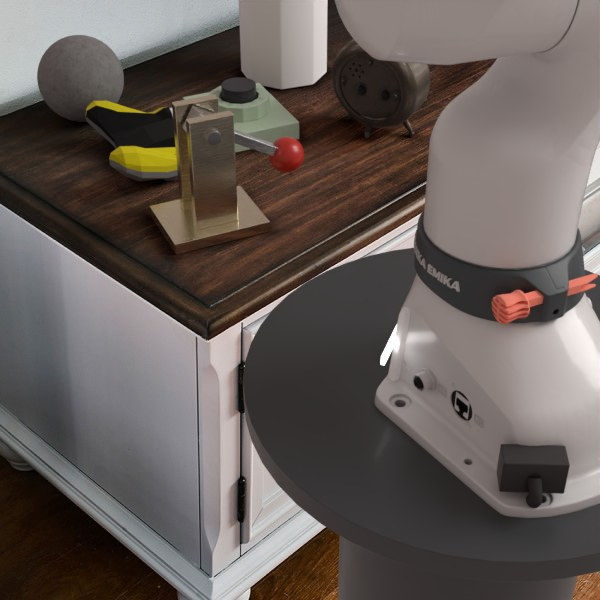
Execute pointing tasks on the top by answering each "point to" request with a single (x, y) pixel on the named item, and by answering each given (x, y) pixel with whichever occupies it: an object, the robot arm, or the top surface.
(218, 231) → the switch bracket
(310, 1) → the cup
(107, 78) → the decorative ball
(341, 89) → the alarm clock
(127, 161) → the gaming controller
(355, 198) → the top surface
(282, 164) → the switch lever
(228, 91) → the button
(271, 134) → the button box
